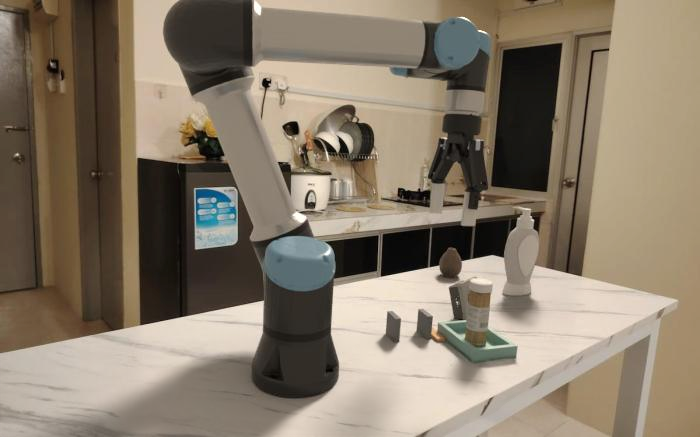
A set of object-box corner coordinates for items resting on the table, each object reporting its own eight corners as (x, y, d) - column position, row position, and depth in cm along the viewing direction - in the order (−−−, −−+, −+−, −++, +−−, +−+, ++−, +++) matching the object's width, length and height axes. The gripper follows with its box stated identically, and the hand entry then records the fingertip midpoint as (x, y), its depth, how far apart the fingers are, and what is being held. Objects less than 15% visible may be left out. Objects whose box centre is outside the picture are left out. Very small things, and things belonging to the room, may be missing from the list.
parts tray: (472, 362, 91) (474, 350, 91) (437, 333, 104) (438, 322, 104) (516, 357, 95) (517, 346, 94) (476, 329, 108) (477, 319, 107)
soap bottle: (519, 285, 143) (529, 205, 139) (540, 293, 136) (551, 209, 132) (486, 289, 137) (496, 206, 133) (506, 298, 130) (517, 210, 126)
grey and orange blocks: (397, 345, 97) (399, 322, 96) (382, 329, 104) (384, 308, 103) (445, 340, 101) (447, 318, 100) (427, 326, 108) (429, 305, 107)
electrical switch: (467, 324, 111) (467, 285, 110) (446, 320, 114) (447, 282, 113) (483, 314, 118) (484, 277, 117) (464, 310, 121) (464, 274, 120)
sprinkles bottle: (479, 337, 102) (486, 277, 100) (490, 346, 98) (497, 284, 95) (460, 338, 101) (466, 277, 99) (469, 348, 97) (476, 284, 94)
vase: (438, 277, 146) (441, 250, 145) (438, 271, 153) (440, 245, 151) (461, 280, 145) (464, 252, 144) (460, 273, 152) (462, 247, 150)
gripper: (517, 114, 84) (501, 232, 88) (449, 116, 107) (439, 209, 111) (480, 110, 82) (465, 231, 85) (419, 113, 105) (409, 208, 109)
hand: (450, 219), depth 98 cm, fingers open, 13 cm apart
